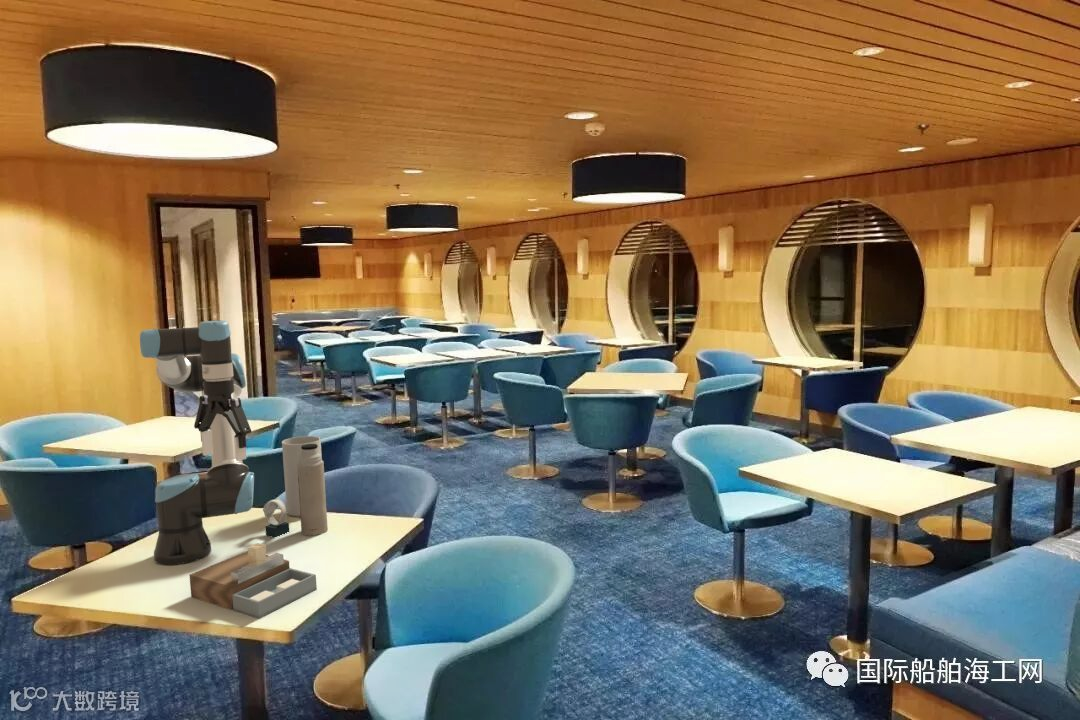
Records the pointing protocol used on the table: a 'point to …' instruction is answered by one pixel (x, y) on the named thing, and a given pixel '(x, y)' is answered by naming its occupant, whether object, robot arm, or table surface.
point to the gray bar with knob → (257, 563)
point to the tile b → (286, 584)
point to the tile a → (262, 595)
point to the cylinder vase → (294, 469)
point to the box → (277, 599)
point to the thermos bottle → (312, 491)
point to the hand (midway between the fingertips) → (224, 457)
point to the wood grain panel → (226, 580)
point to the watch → (274, 527)
